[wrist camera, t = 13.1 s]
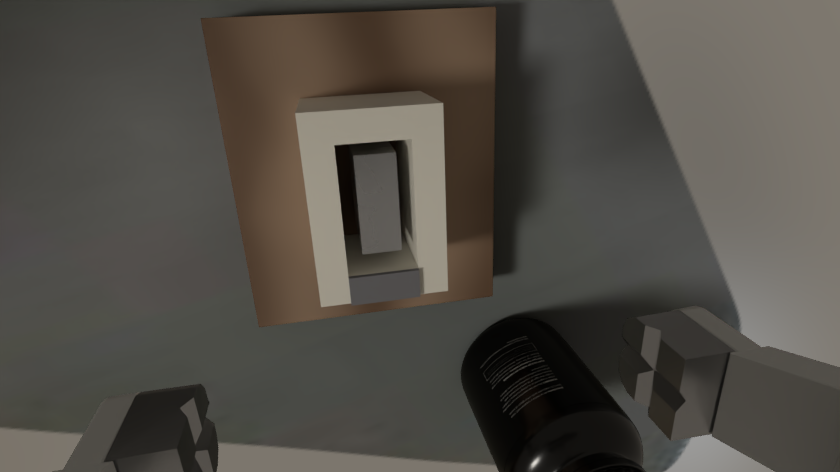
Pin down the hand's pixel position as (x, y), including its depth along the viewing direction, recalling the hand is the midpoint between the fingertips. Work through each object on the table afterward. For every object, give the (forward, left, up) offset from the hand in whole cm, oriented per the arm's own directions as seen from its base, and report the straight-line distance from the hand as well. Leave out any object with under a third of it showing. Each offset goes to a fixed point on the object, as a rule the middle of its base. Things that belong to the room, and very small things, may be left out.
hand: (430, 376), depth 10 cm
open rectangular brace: (0, 0, -15) cm, 15 cm away
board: (0, 0, -17) cm, 17 cm away
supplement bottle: (+8, -13, -17) cm, 23 cm away
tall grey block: (0, 0, -15) cm, 15 cm away
